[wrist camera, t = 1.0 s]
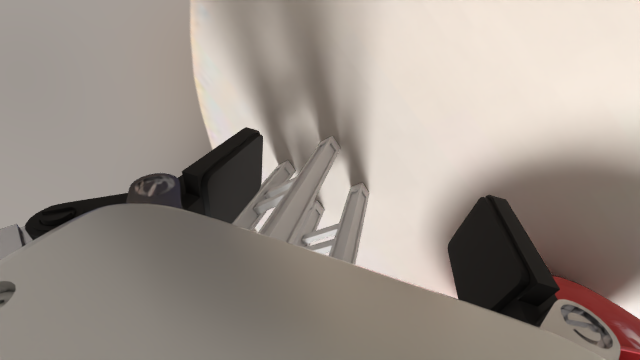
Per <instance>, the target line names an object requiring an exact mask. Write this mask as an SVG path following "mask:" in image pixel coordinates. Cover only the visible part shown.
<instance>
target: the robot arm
mask: <svg viewBox="0 0 640 360" xmlns="http://www.w3.org/2000/svg"><path fill="white" fill-rule="evenodd" d="M262 151H263V136H262V135H260V133H259V131H257V130H254V129H250V128H247V127H246V128H244V129H242V130H241V131H239V132H238V133H237V134H235V135H234V136H232V137H231V138H229V139H228V140H226V141H225V142H224V143H222V144H221V145H219V146H218V147H216V148H215V149H213V150H212V151H211V152H209V153H208V154H206V155H205V156H204V157H202V158H201V159H199V160H198V161H196V162H195V163H193V164H192V165H191V166H189V167H188V168H186V169H185V170H183V171H182V174H183V175H182V176H180V177H178V178H177V177H176V176H174V175H171V174H166V173H155V174H149V175H146V176H143V177H141V178H139V179H137V180H135V181H134V182H133V183H132V184H131V185H130V188H129V191H128V193H125V194H119V195H112V196H106V197H100V198H93V199H87V200H81V201H74V202H68V203H63V204H58V205H54V206H51V207H48V208H46V209H44V210H42V211H40V212H38V213H36V214H35V215H34V216H33V217H31V218H30V219H29V220H28V222H27V223H26V225H25V226H24V227H21V228H19V226H18V225H17V224H15V225H11V226H8V227H5V228H2V229H0V360H620V359H619V356H620V352H621V350H620V343H619V341H618V339H617V337H616V336H615V334H614V333H613V332H612V330H611V329H610V328H609V327H608V326H607V325H606V324H605V323H604V322H603V321H602V320H601V319H600V318H599V317H598V316H596V315H595V314H594V313H592V312H591V311H590V310H588V309H586V308H585V307H583V306H582V305H579V304H577V303H575V302H573V301H569V300H566V299H560V300H558V299H557V297H556V296H555V293H556V292H558V291H559V290H560V288H559V286H558V285H557V283H556V282H555V280H554V278H553V277H552V275H551V273H550V272H549V270H548V268H547V267H546V265H545V263H544V262H543V260H542V258H541V257H540V255H539V253H538V252H537V250H536V248H535V247H534V245H533V243H532V242H531V240H530V238H529V237H528V235H527V233H526V232H525V230H524V228H523V227H522V225H521V224H520V222H519V220H518V219H517V217H516V215H515V214H514V212H513V210H512V209H511V207H510V205H509V204H508V202H507V201H506V200H505V199H502V198H499V197H495V196H491V195H487V196H486V197H481V198H480V199H479V200H478V201H477V203H476V204H475V206H474V207H473V209H472V210H471V212H470V213H469V214H468V216H467V217H466V219H465V220H464V222H463V223H462V224H461V226H460V227H459V229H458V230H457V232H456V233H455V235H454V236H453V237H452V239H451V240H450V242H449V244H448V253H449V258H450V262H451V267H452V272H453V276H454V281H455V285H456V290H457V295H458V299H456V298H453V297H450V296H447V295H444V294H441V293H438V292H435V291H432V290H429V289H426V288H423V287H420V286H417V285H414V284H411V283H409V282H406V281H403V280H400V279H397V278H394V277H391V276H388V275H385V274H382V273H379V272H376V271H373V270H370V269H367V268H364V267H361V266H358V265H355V264H352V263H349V262H346V261H343V260H340V259H337V258H334V257H331V256H328V255H325V254H322V253H319V252H316V251H313V250H310V249H306V248H303V247H300V246H297V245H294V244H291V243H288V242H285V241H282V240H279V239H276V238H273V237H270V236H267V235H264V234H260V233H257V232H254V231H251V230H248V229H245V228H242V227H239V226H236V225H233V224H232V223H233V222H234V221H235V219H236V218H237V217H238V216H239V215H240V213H241V212H242V211H243V210H244V208H245V207H246V206H247V205H248V204H249V202H250V201H251V200H252V199H253V198H254V196H255V195H256V194H257V193H258V191H259V190H260V187H261V178H262Z"/></svg>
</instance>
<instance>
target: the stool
mask: <svg viewBox="0 0 640 360" xmlns="http://www.w3.org/2000/svg"><path fill="white" fill-rule="evenodd" d="M339 150H340V147H339V145H338V144H337V142H336V140H335V139H334V137H333V136H331V137H329V138H327V139H325V140H323V141H321V142H320V144H319V145H318V147H317V148H316V149H315V151H314V152H313V154H312V155H311V157H310V158H309V160H308V161H307V163H306V164H305V165H304V167H303V168H302V170H301V171H300V173H299V174H298V176H297V177H295V178H293V179H291V180H289V179H290V178H291V177H292V175H293V174H294V173H295V169H294V168H293V166H292V165H291V164H290V162H289V161H288V160H287V161H285V162H283V163H281V164H280V165H278V166H277V167H276V169H275V170H274V171H273V172H272V173H271V174H270V175H269V177H268V178H267V179H266V180H265V181H264V182H263V183H262V185H261V187H260V190H259V191H258V193H257V194H256V195H255V196H254V198H253V199H252V200H251V201H250V202H249V204H248V205H247V206H246V207H245V208H244V210H243V211H242V212H241V213H240V215H239V216H238V217H237V218H236V219H235V221H234V222H233V223H232V224H233V225H236V226H239V227H242V228H245V229H248V230H251V231H253V229H254V228H255V227H256V225H257V224H258V222H259V221H260V220H261V218H262V217H263V215H264V214H265V213H266V211H267V210H269V209H271V208H274V207H276V208H275V209H274V210H273V212H272V213H271V215H270V216H269V218H268V219H267V221H266V222H265V224H264V225H263V226H262V228H261V229H260V231H259V232H258V233H260V234H264V235H267V236H270V237H273V238H276V239H279V240H282V241H285V242H288V243H291V244H294V245H297V246H300V247H303V248H306V249H310V250H313V251H316V252H319V253H322V254H325V253H328V252H330V254H329V256H331V257H334V258H337V259H340V260H343V261H346V262H349V263H352V264H355V262H356V257H357V252H358V247H359V242H360V237H361V232H362V227H363V222H364V217H365V212H366V207H367V202H368V197H369V192H368V191H367V189H366V187H365V186H364V184H363V183H359V184H357V185H354V186H352V187H351V188H350V191H349V194H348V197H347V200H346V203H345V206H344V210H343V213H342V216H341V219H340V222H339V223H338V224H335V225H332V226H329V227H326V228H323V229H320V230H317V231H316V229H317V227H318V224H319V222H320V219H321V217H322V215H323V212H324V209H323V207H322V206H321V205H320V203H319V202H318V200H317V201H315V202H314V200H315V198H316V196H317V194H318V192H319V190H320V188H321V186H322V184H323V182H324V180H325V178H326V176H327V174H328V172H329V170H330V168H331V166H332V164H333V162H334V160H335V158H336V156H337V154H338V152H339ZM332 236H335V238H334V239H332V240H329V241H325V242H322V243H318V244H315V245H312V246H310V243H312V242H315V241H319V240H322V239H325V238H329V237H332Z"/></svg>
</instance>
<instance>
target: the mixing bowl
mask: <svg viewBox="0 0 640 360" xmlns="http://www.w3.org/2000/svg"><path fill="white" fill-rule="evenodd" d="M552 277H553V278H554V280H555V282H556V283H557V285H558V286H559V288H560V290H559V291H558V292H556V293H555V296H556V297H557V299H558V300H560V299H566V300H569V301H573V302H575V303H577V304H579V305H582V306H583V307H585V308H586V309H588V310H590V311H591V312H592V313H594V314H595V315H596V316H598V317H599V318H600V319H601V320H602V321H603V322H604V323H605V324H606V325H607V326H608V327H609V328H610V329H611V330H612V332H613V333H614V334H615V336H616V337H617V339H618V341H619V343H620V350H621V352H620V356H619V359H620V360H640V319H638V318H637V317H635V316H634V315H632V314H631V313H629V312H627V311H626V310H624V309H623V308H621V307H620V306H618V305H616V304H615V303H613V302H611V301H610V300H608V299H606V298H604V297H603V296H601V295H599V294H597V293H596V292H594V291H592V290H590V289H588V288H586V287H584V286H582V285H580V284H577V283H575V282H572V281H569V280H566V279H564V278H560V277H556V276H552Z"/></svg>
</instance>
